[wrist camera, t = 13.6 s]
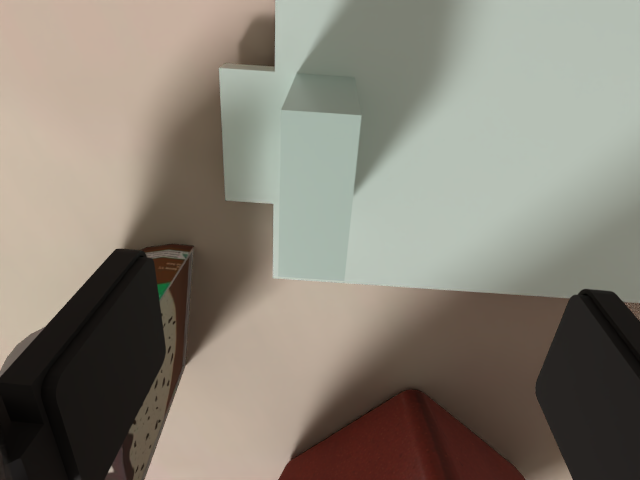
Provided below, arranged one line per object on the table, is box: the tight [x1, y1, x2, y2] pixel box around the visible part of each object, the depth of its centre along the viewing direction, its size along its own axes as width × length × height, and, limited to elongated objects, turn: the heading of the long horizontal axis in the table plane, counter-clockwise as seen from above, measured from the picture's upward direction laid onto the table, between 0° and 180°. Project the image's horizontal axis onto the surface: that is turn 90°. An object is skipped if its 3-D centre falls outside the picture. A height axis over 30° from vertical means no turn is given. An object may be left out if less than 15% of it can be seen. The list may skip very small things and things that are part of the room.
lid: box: [219, 0, 640, 303], centre depth 19 cm, size 23×15×8 cm, turn 87°
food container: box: [0, 244, 194, 480], centre depth 23 cm, size 12×6×10 cm, turn 169°
